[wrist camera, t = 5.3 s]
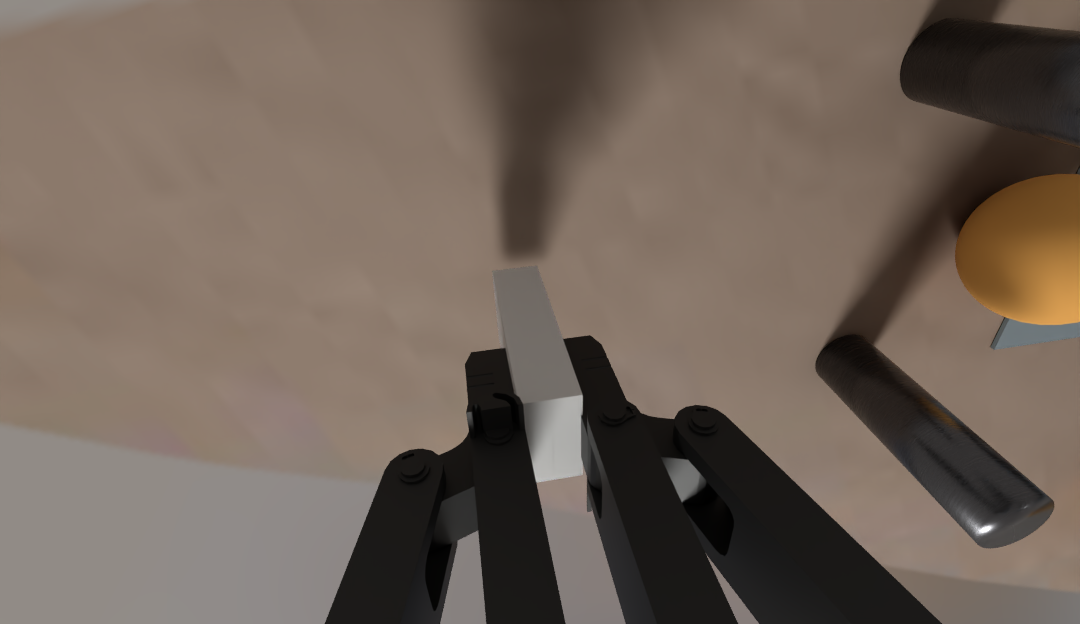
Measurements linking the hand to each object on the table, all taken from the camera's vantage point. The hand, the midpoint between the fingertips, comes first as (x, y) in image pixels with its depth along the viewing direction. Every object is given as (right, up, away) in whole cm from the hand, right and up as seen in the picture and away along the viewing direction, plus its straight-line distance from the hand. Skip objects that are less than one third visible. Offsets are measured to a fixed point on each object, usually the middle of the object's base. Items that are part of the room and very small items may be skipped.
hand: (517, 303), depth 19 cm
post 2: (+15, -2, +7) cm, 16 cm away
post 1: (+14, +8, 0) cm, 16 cm away
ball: (+20, +2, +2) cm, 20 cm away
